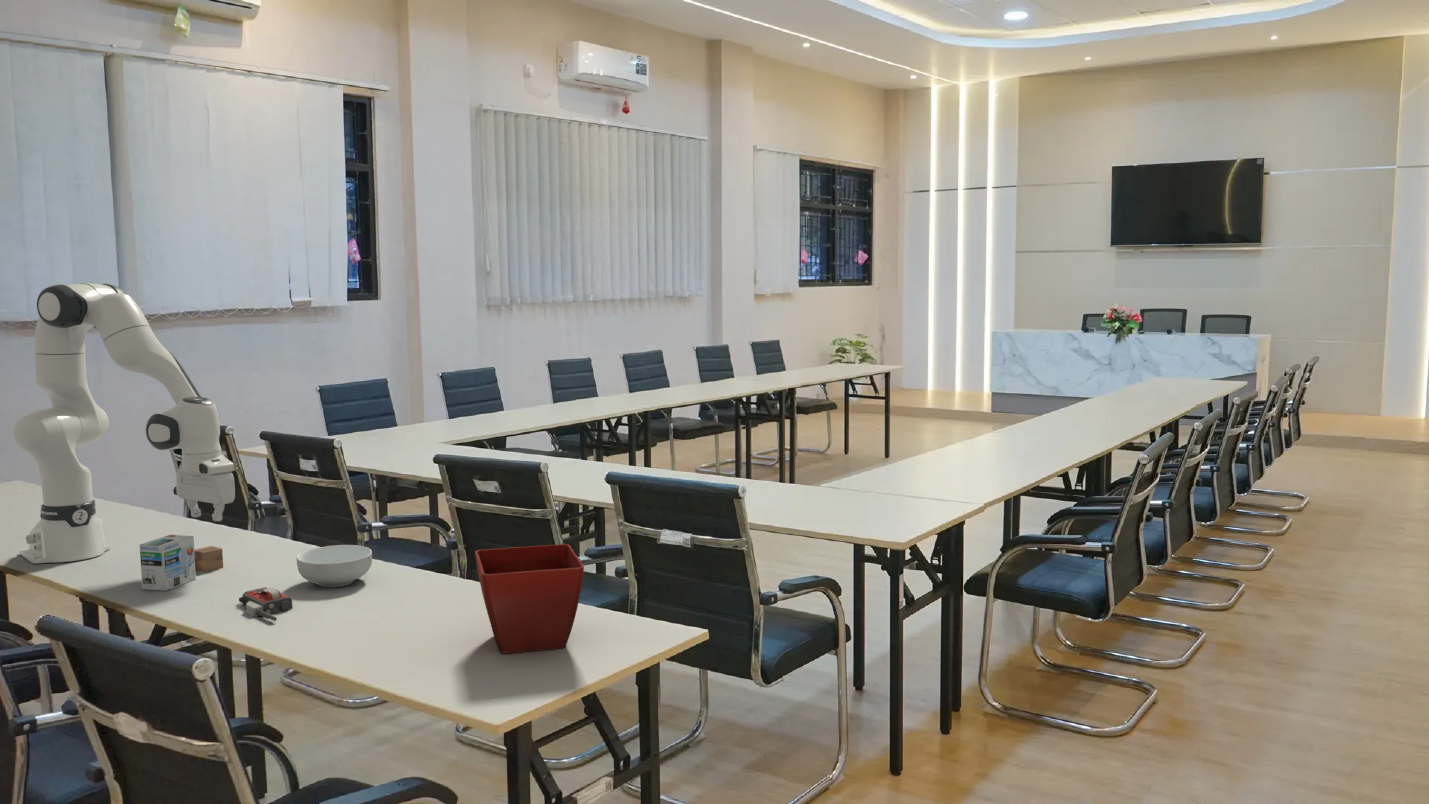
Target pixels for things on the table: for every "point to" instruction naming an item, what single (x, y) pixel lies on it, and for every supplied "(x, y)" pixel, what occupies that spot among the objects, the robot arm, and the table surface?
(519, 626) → the plant pot
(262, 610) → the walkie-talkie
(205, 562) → the walnut cube
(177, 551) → the light bulb box
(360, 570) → the cereal bowl
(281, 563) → the table surface
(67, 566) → the table surface
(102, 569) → the table surface
